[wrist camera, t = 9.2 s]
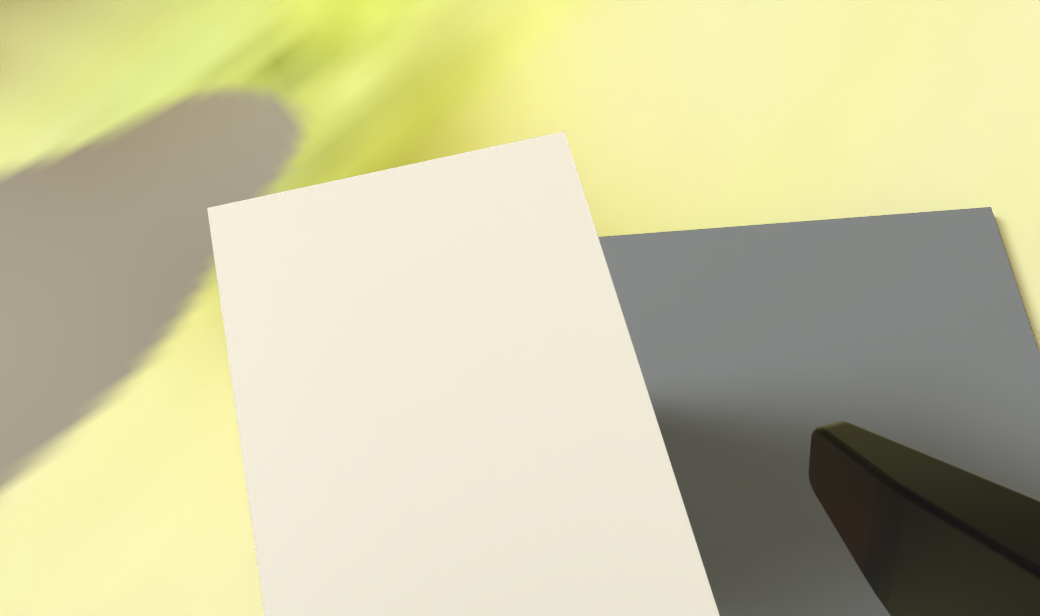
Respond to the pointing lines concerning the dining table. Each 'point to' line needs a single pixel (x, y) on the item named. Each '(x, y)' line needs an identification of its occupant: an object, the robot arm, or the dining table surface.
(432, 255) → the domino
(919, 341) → the rubber mat
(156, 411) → the dining table surface
